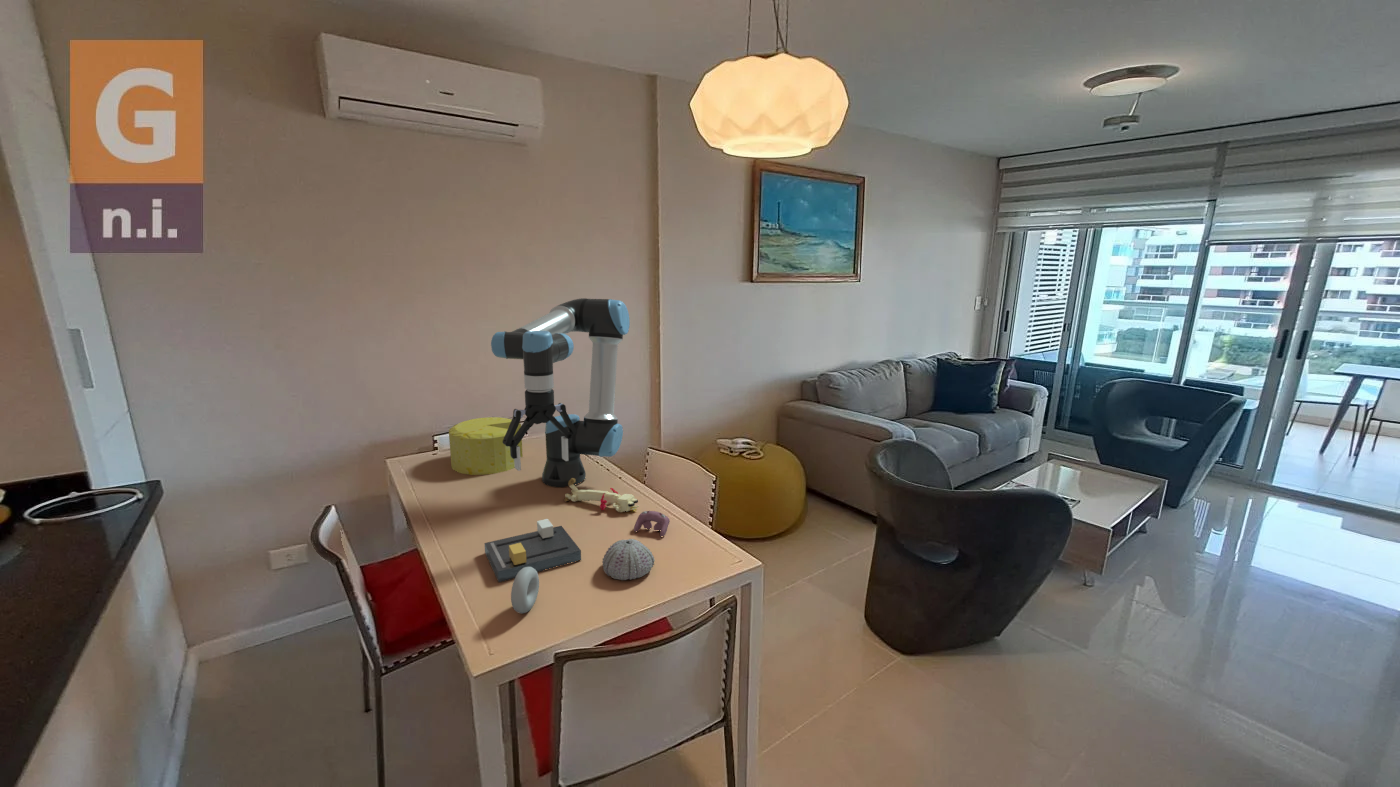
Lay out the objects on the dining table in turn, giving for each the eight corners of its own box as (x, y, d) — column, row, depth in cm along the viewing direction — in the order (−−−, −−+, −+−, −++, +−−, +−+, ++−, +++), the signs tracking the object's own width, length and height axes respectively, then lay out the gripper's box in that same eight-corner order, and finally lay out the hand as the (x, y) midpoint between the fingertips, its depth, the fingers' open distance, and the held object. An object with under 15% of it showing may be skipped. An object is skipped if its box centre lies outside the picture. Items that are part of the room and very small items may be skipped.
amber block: (521, 553, 145) (520, 542, 144) (526, 562, 140) (525, 551, 140) (509, 556, 143) (508, 545, 142) (514, 565, 139) (513, 554, 138)
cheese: (537, 462, 217) (535, 425, 214) (473, 481, 198) (470, 440, 194) (501, 446, 234) (499, 412, 230) (438, 462, 214) (435, 424, 211)
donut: (528, 595, 132) (526, 557, 130) (542, 597, 132) (540, 558, 129) (509, 622, 123) (506, 581, 120) (524, 623, 122) (522, 582, 120)
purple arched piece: (668, 538, 164) (672, 514, 166) (663, 538, 160) (667, 513, 162) (637, 532, 167) (642, 508, 169) (631, 532, 163) (636, 508, 165)
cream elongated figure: (561, 509, 181) (630, 517, 172) (558, 483, 179) (628, 490, 170) (578, 497, 190) (644, 504, 181) (575, 472, 188) (642, 478, 180)
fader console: (561, 535, 161) (561, 525, 160) (581, 560, 148) (580, 550, 147) (485, 553, 150) (484, 542, 150) (498, 582, 137) (497, 571, 136)
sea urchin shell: (592, 578, 140) (591, 549, 139) (617, 552, 153) (617, 525, 151) (639, 590, 136) (639, 560, 134) (662, 562, 148) (662, 535, 147)
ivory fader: (548, 528, 158) (547, 518, 157) (553, 536, 154) (553, 525, 153) (537, 530, 156) (536, 521, 156) (542, 538, 152) (542, 528, 152)
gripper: (576, 381, 160) (577, 452, 165) (487, 391, 146) (491, 468, 150) (588, 386, 155) (589, 459, 159) (496, 397, 140) (501, 477, 145)
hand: (542, 464), depth 155 cm, fingers open, 13 cm apart
